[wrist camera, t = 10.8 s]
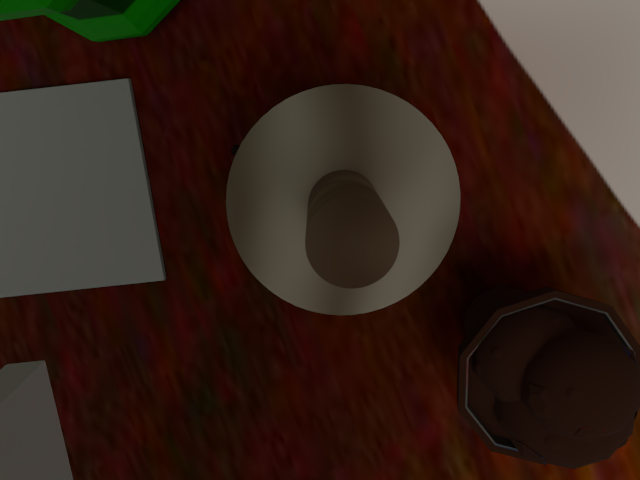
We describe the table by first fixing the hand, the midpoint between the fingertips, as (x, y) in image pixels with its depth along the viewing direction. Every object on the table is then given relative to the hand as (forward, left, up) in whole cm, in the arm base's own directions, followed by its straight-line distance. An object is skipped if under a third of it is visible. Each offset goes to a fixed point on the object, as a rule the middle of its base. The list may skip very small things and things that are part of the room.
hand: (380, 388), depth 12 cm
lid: (0, 0, -20) cm, 20 cm away
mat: (-20, +1, -30) cm, 36 cm away
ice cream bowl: (+11, -12, -31) cm, 35 cm away
